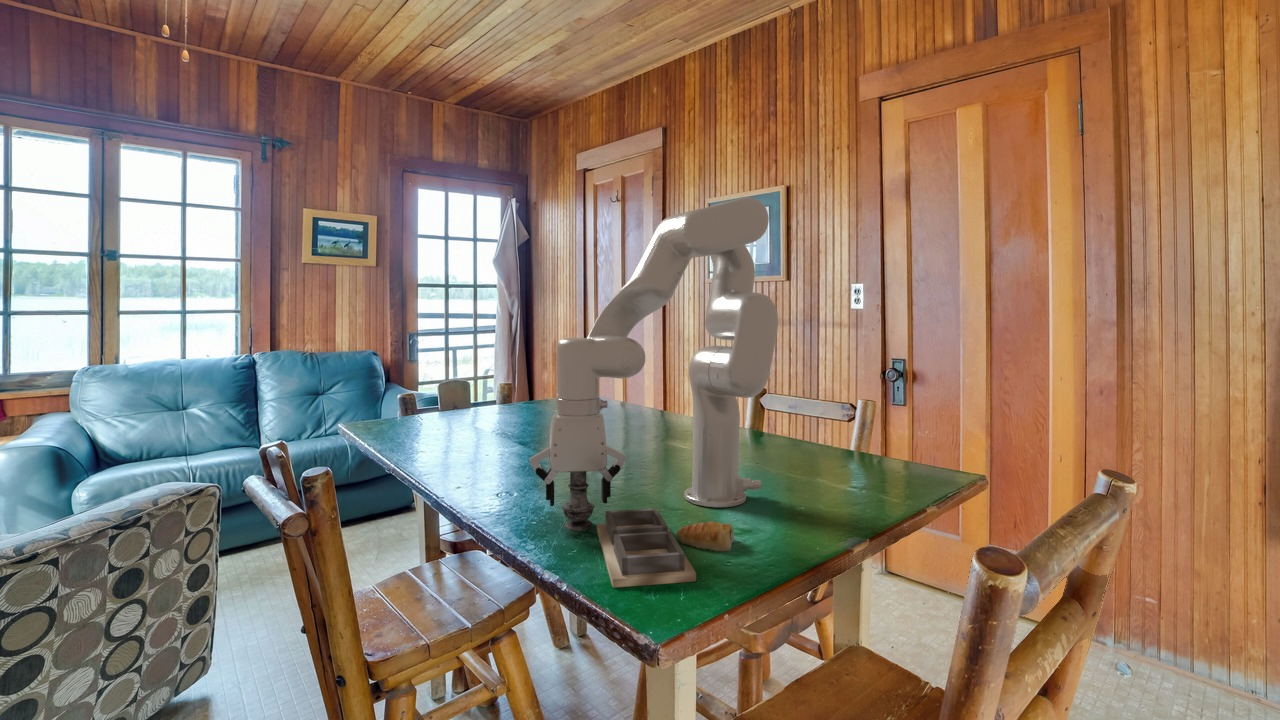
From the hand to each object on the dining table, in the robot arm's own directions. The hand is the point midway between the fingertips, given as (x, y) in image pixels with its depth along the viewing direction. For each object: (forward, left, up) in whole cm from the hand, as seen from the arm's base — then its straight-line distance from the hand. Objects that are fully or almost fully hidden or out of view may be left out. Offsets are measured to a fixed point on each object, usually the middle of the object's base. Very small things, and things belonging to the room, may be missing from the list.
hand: (578, 502), depth 106 cm
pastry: (-21, +12, -5) cm, 24 cm away
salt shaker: (0, 0, -4) cm, 4 cm away
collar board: (-9, +14, -4) cm, 17 cm away
